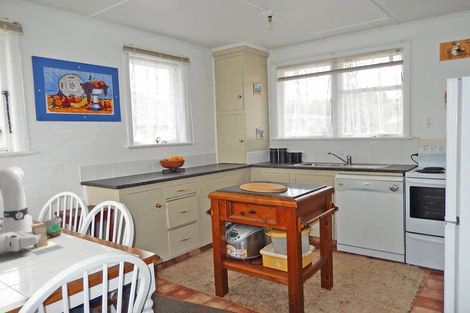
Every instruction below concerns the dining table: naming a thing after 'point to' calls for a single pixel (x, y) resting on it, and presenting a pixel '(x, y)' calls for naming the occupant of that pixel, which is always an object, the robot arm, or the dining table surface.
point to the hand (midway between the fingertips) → (41, 233)
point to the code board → (45, 250)
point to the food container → (53, 227)
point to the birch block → (40, 229)
